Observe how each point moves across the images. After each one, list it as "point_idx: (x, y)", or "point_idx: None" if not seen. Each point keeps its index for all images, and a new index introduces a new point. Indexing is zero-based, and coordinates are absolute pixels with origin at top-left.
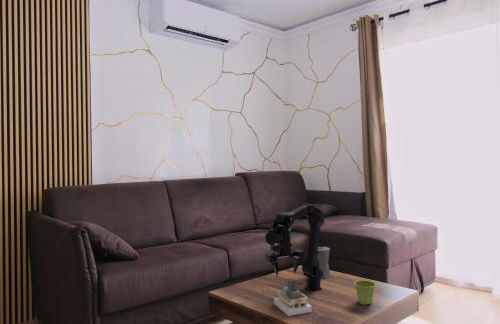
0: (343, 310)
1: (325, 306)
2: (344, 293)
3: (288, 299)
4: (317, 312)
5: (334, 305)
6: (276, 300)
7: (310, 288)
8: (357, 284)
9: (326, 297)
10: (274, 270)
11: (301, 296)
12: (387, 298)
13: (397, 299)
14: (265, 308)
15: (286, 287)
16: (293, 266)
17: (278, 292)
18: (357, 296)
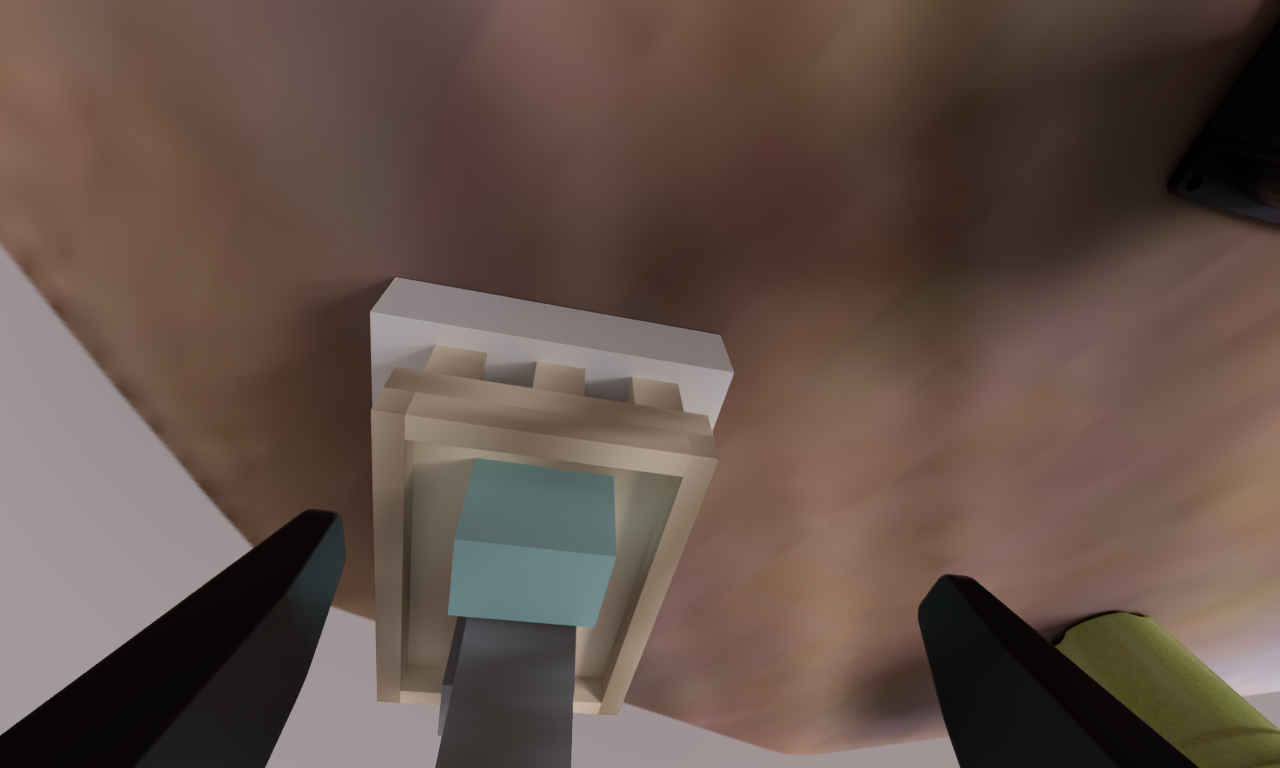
0: (842, 664)
1: (813, 576)
2: (1257, 458)
3: (381, 678)
4: (660, 621)
5: (886, 592)
6: (373, 386)
7: (1230, 151)
8: (1252, 740)
9: (1035, 445)
10: (135, 656)
11: (622, 614)
12: (1265, 658)
13: (1270, 687)
14: (217, 339)
15: (491, 572)
16: (1084, 744)
17: (373, 464)
18: (1101, 671)
